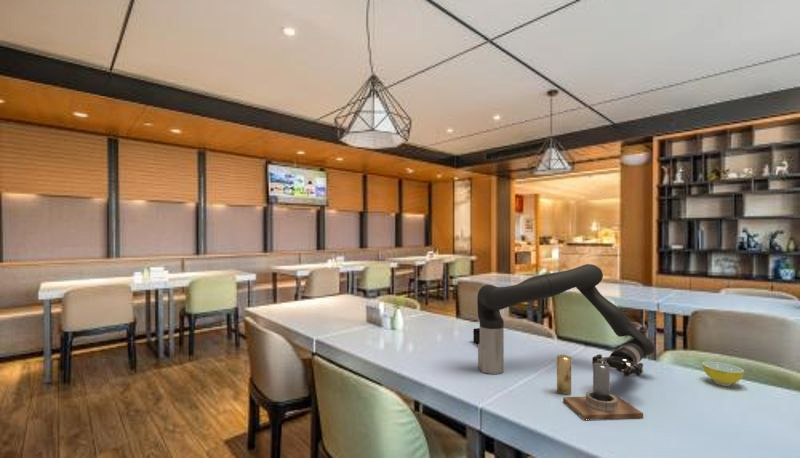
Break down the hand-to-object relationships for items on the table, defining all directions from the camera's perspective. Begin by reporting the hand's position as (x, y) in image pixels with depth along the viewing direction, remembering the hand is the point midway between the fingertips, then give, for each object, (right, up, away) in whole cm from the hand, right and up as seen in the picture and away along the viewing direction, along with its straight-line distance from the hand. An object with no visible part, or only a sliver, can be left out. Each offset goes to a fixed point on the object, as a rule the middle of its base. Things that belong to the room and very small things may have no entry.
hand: (610, 370), depth 122 cm
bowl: (+48, -11, +15) cm, 52 cm away
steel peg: (-6, -8, -6) cm, 12 cm away
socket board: (-6, -10, -6) cm, 13 cm away
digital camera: (-28, -11, +60) cm, 68 cm away
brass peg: (-12, -10, +7) cm, 17 cm away
